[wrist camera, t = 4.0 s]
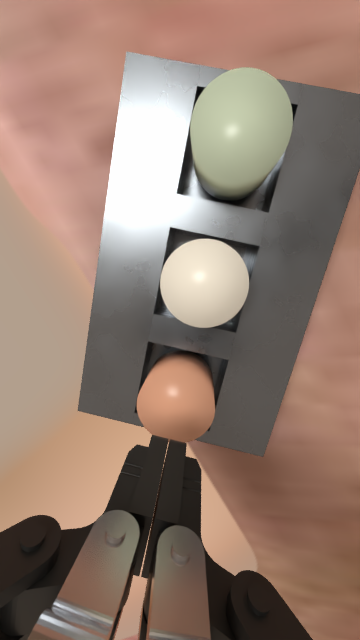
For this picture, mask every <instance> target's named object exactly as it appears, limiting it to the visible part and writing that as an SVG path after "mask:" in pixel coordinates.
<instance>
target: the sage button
mask: <svg viewBox="0 0 360 640" xmlns="http://www.w3.org/2000/svg"><path fill="white" fill-rule="evenodd" d="M292 126H293V113H292V106H291V103H290V99H289V97H288V95H287V93H286V91H285V89H284V88H283V86H282V85H281V84H280V83H279V81H278V80H276V79H275V78H274V77H273V76H272V75H270V74H268V73H267V72H265V71H262V70H259V69H256V68H248V67H246V68H237V69H232V70H230V71H227V72H225V73H223V74H221V75H219V76H218V77H217V78H215V79H214V80H213V81H212V82H210V83H209V84H208V85H207V87H206V88H205V89H204V90H203V92H202V93H201V95H200V96H199V98H198V100H197V102H196V104H195V107H194V109H193V113H192V117H191V123H190V136H191V145H192V154H193V163H194V170H195V174H196V177H197V179H198V181H199V183H200V185H201V186H202V187H203V188H204V190H205V191H206V192H208V193H209V194H210V195H212V196H214V197H216V198H218V199H222V200H238V199H242V198H244V197H247V196H248V195H250V194H252V193H253V192H254V191H256V190H257V189H258V188H259V187H260V186H261V184H262V183H263V182H264V180H265V179H266V178H267V176H268V175H269V173H270V172H271V171H272V169H273V168H274V166H275V165H276V164H277V162H278V161H279V159H280V158H281V156H282V155H283V153H284V152H285V150H286V148H287V145H288V143H289V140H290V137H291V132H292Z"/></svg>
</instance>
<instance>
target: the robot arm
mask: <svg viewBox="0 0 360 640" xmlns="http://www.w3.org/2000/svg"><path fill="white" fill-rule="evenodd" d="M167 444H168V438H164V437H160V436H156V435H152V437H151V441H150V444H149V447H145V446H141V445H136V446H135V447H134V448H133V449H132V450H131V451H129V453H128V455H127V457H126V460H125V462H124V465H123V467H122V470H121V473H120V475H119V477H118V480H117V483H116V485H115V488H114V490H113V492H112V495H111V497H110V500H109V503H108V505H107V507H106V510H105V511H104V513H103V514H102V515H101V516H100V517H99V518H98V519H97V520H96V521H95V522H94V523H92V524H90V525H88V526H86V527H82V528H77V529H67V530H61V528H60V525H59V523H58V522H57V521H56V520H55V519H54V518H52V517H50V516H46V515H37V516H32V517H29V518H27V519H25V520H23V521H21V522H19V523H17V524H16V525H14V526H12V527H10V528H8V529H6V530H4V531H3V532H0V640H114V638H115V635H116V631H117V628H118V625H119V621H120V618H121V614H122V611H123V607H124V605H125V603H126V601H127V599H128V595H129V591H130V587H131V582H132V578H133V575H136V576H139V575H140V570H141V566H142V562H143V557H144V553H145V549H146V545H147V540H148V536H149V540H148V546H147V550H146V555H145V560H144V565H143V571H142V576H141V577H144V578H147V579H148V580H147V586H146V592H145V597H144V601H143V605H142V610H141V615H140V624H139V631H138V640H313V639H312V638H311V637H310V635H309V634H308V633H307V631H306V630H305V629H304V627H303V626H302V625H301V623H300V622H299V620H298V619H297V618H296V616H295V615H294V614H293V612H292V611H291V610H290V608H289V607H288V605H287V604H286V603H285V601H284V600H283V599H282V597H281V596H280V595H279V593H278V592H277V591H276V589H275V588H274V587H273V585H272V584H271V583H270V582H269V581H268V580H267V579H266V578H265V577H263V576H262V575H260V574H259V573H257V572H254V571H250V570H246V571H241V572H239V573H238V574H237V575H236V576H234V575H233V574H231V573H230V572H228V571H227V570H225V569H224V568H222V567H221V566H219V565H218V564H217V563H215V562H214V561H213V560H212V558H211V557H210V556H209V555H208V553H207V552H206V550H205V548H204V546H203V543H202V539H201V468H200V466H199V464H198V462H197V459H194V458H190V457H186V456H185V455H186V443H185V442H181V441H176V440H172V439H170V441H169V446H168V450H167V454H166V449H167ZM165 454H166V458H165ZM164 459H165V462H164ZM163 464H164V467H163ZM162 469H163V471H162ZM161 474H162V476H161ZM160 479H161V480H160ZM159 484H160V485H159ZM158 489H159V490H158ZM157 494H158V495H157ZM156 499H157V500H156ZM155 504H156V505H155ZM154 509H155V510H154ZM153 514H154V515H153ZM152 519H153V520H152ZM151 523H152V525H151ZM150 528H151V530H150ZM149 532H150V535H149Z"/></svg>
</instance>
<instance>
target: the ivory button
mask: <svg viewBox="0 0 360 640" xmlns="http://www.w3.org/2000/svg"><path fill="white" fill-rule="evenodd" d="M160 289H161V294H162V298H163V300H164V303H165V305H166V307H167V308H168V310H169V311H170V312H171V313H172V314H173V315H174V316H175V317H176V318H177V319H178V320H180V321H181V322H183V323H185V324H187V325H190V326H193V327H199V328H209V327H215V326H218V325H221V324H223V323H225V322H227V321H228V320H230V319H231V318H233V317H234V316H235V315H236V314H237V313H238V312H239V310H240V309H241V308H242V306H243V304H244V302H245V300H246V298H247V295H248V290H249V275H248V271H247V268H246V265H245V263H244V261H243V259H242V258H241V256H240V255H239V254H238V253H237V252H236V251H235V250H234V249H233V248H232V247H230V246H229V245H227V244H225V243H223V242H221V241H218V240H214V239H196V240H193V241H190V242H187V243H185V244H183V245H181V246H180V247H179V248H177V249H176V250H175V251H174V252H173V253H172V254H171V255H170V256H169V258H168V259H167V261H166V263H165V265H164V267H163V269H162V273H161V279H160Z"/></svg>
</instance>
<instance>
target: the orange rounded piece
mask: <svg viewBox="0 0 360 640" xmlns="http://www.w3.org/2000/svg"><path fill="white" fill-rule="evenodd" d="M137 413H138V416H139V419H140V421H141V422H142V424H143V426H144V427H145V428H146V429H147V430H148V431H149V432H150V433H151V434H152V435H156V436H160V437H164V438H168V442H169V441H170V439H172V440H176V441H181V442H189V441H192V440H195V439H197V438H198V437H200V436H202V435H203V434H204V433H205V432H206V431H207V430H208V429H209V427H210V426H211V424H212V422H213V419H214V415H215V400H214V386H213V376H212V372H211V369H210V368H209V366H208V364H207V363H206V362H205V361H204V360H203V359H202V358H201V357H200V356H198V355H196V354H194V353H192V352H189V351H184V350H177V351H171V352H168V353H166V354H164V355H162V356H161V357H160V358H158V359H157V360H156V362H155V363H154V365H153V366H152V368H151V370H150V372H149V374H148V376H147V378H146V380H145V382H144V384H143V386H142V388H141V390H140V392H139V394H138V398H137Z"/></svg>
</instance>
